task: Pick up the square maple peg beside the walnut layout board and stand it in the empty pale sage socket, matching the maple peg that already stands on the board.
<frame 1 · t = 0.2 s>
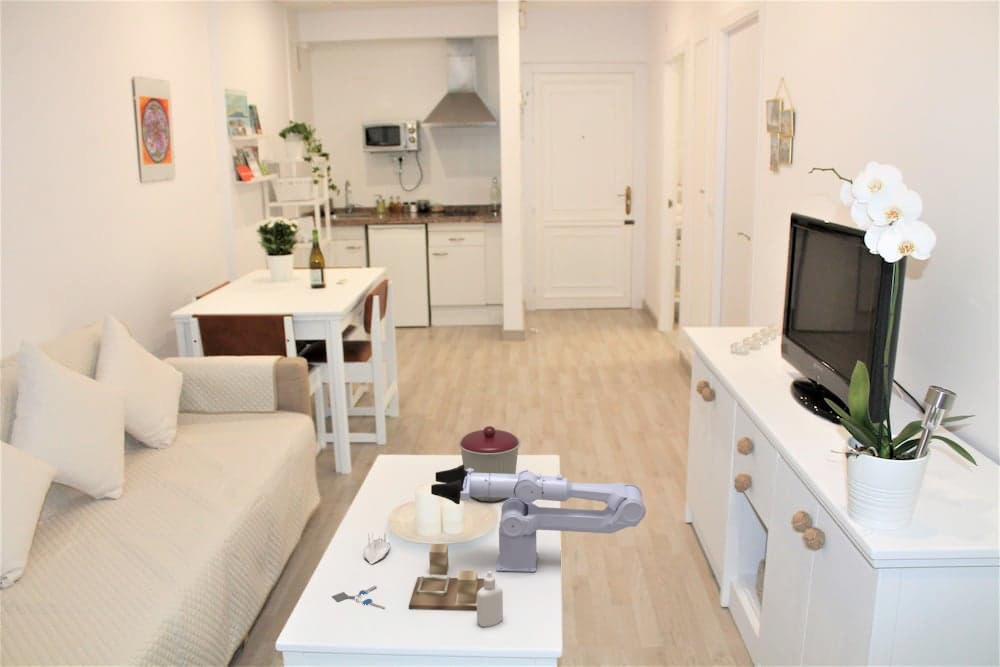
hand: (433, 483, 202), 21 cm above the table, tool horizontal, fingers open, 7 cm apart
layout board: (447, 595, 192), on the table
pincushion: (377, 554, 212), on the table
canister: (490, 495, 245), on the table
key chain: (363, 597, 193), on the table
eye dropper bottle: (490, 622, 182), on the table
maple peg: (439, 570, 203), on the table
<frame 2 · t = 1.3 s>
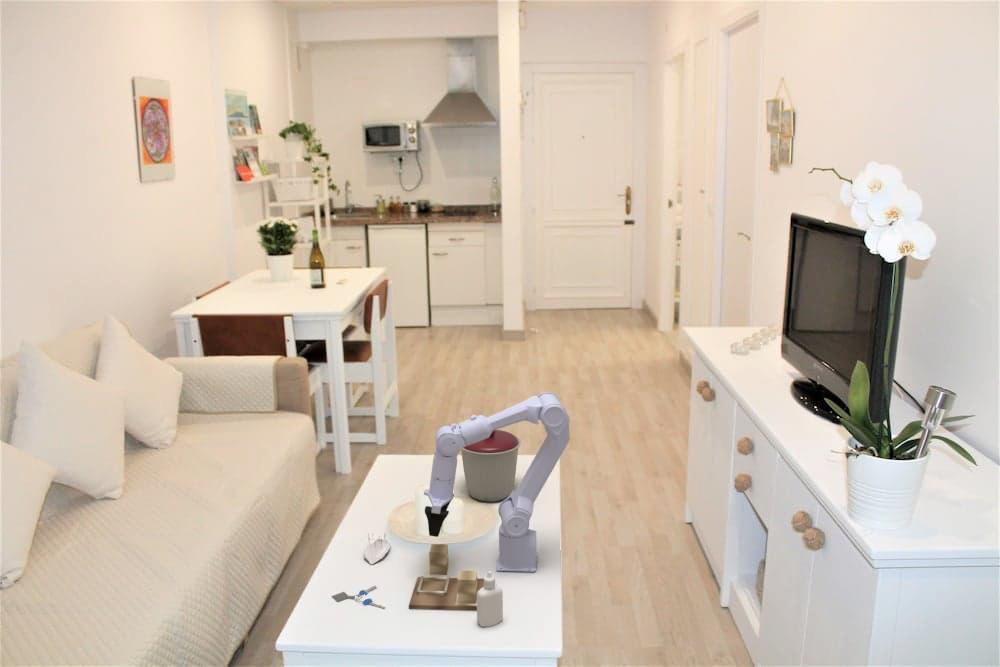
hand: (436, 528, 201), 11 cm above the table, tool pointing down, fingers open, 7 cm apart
nothing on the table moved.
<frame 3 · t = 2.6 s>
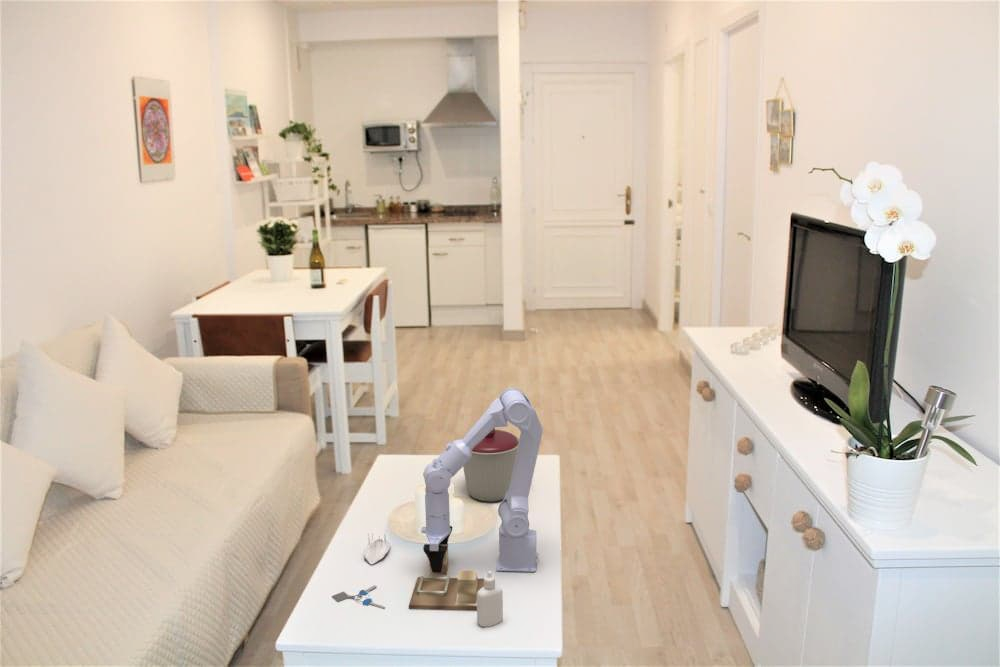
hand: (439, 563, 203), 2 cm above the table, tool pointing down, fingers open, 7 cm apart
nothing on the table moved.
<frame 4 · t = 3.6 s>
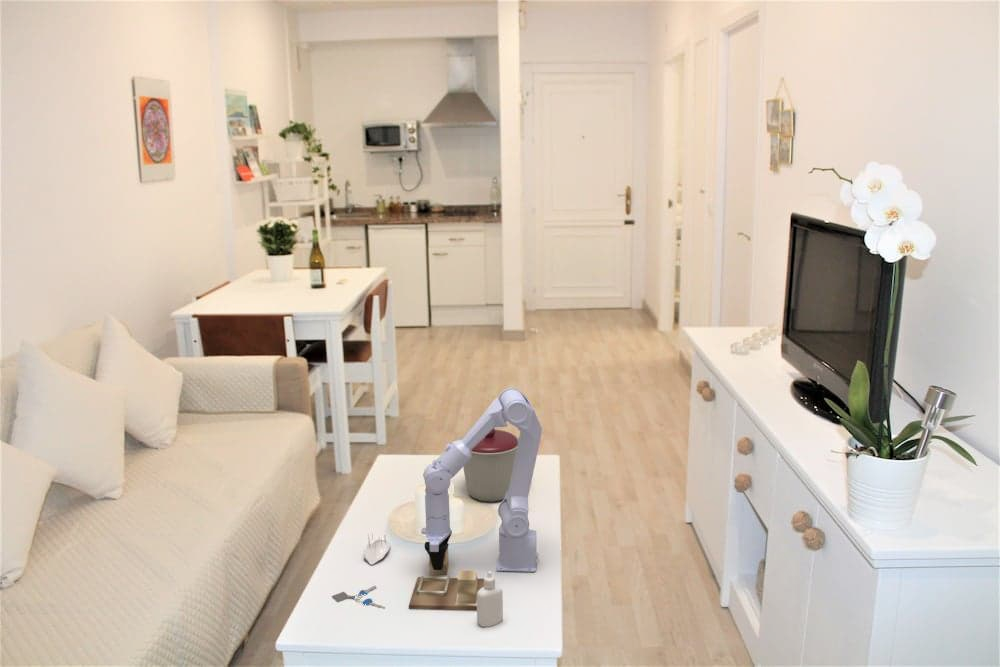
hand: (439, 564, 203), 2 cm above the table, tool pointing down, fingers closed on maple peg, 4 cm apart
maple peg: (439, 570, 203), on the table, touching gripper
everything else where it was.
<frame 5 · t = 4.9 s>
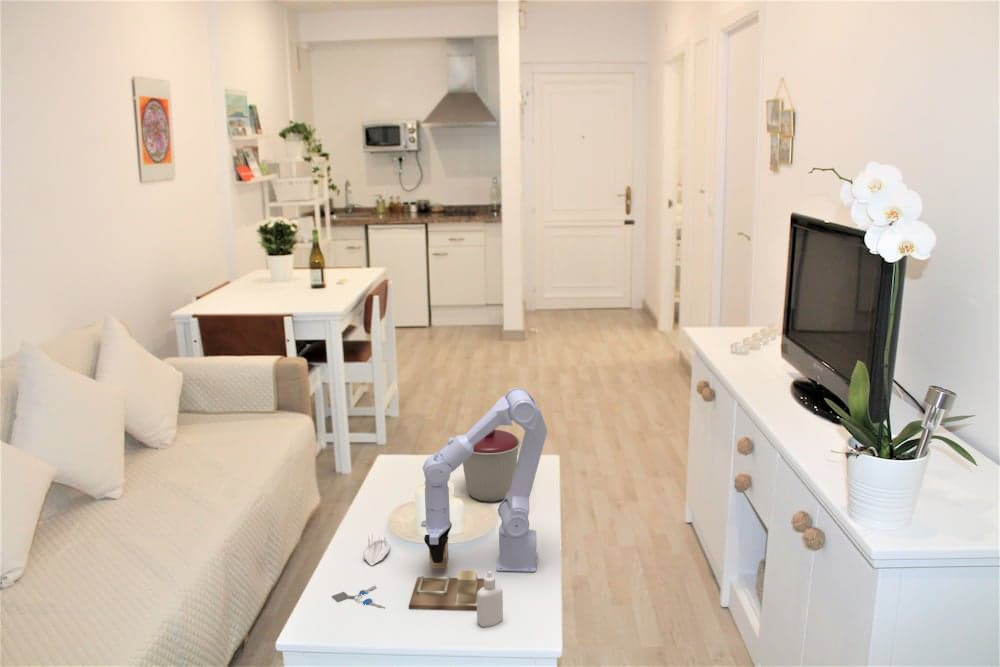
hand: (439, 557, 202), 3 cm above the table, tool pointing down, fingers closed on maple peg, 4 cm apart
maple peg: (439, 563, 203), point 2 cm above the table, touching gripper
everything else where it was.
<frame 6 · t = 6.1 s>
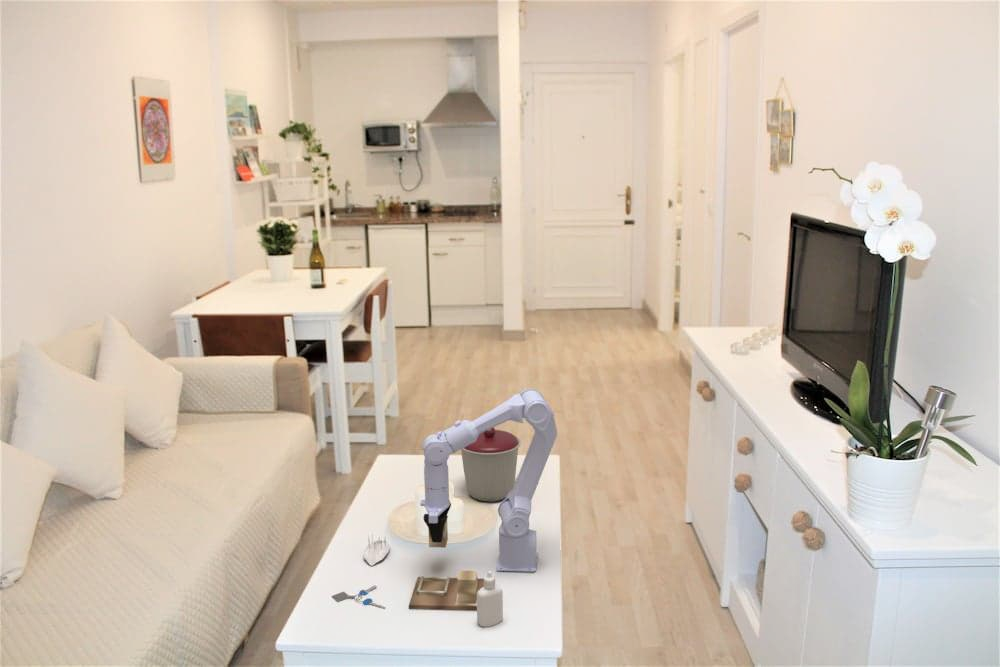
hand: (438, 537, 201), 9 cm above the table, tool pointing down, fingers closed on maple peg, 4 cm apart
maple peg: (438, 543, 201), point 7 cm above the table, touching gripper
everything else where it was.
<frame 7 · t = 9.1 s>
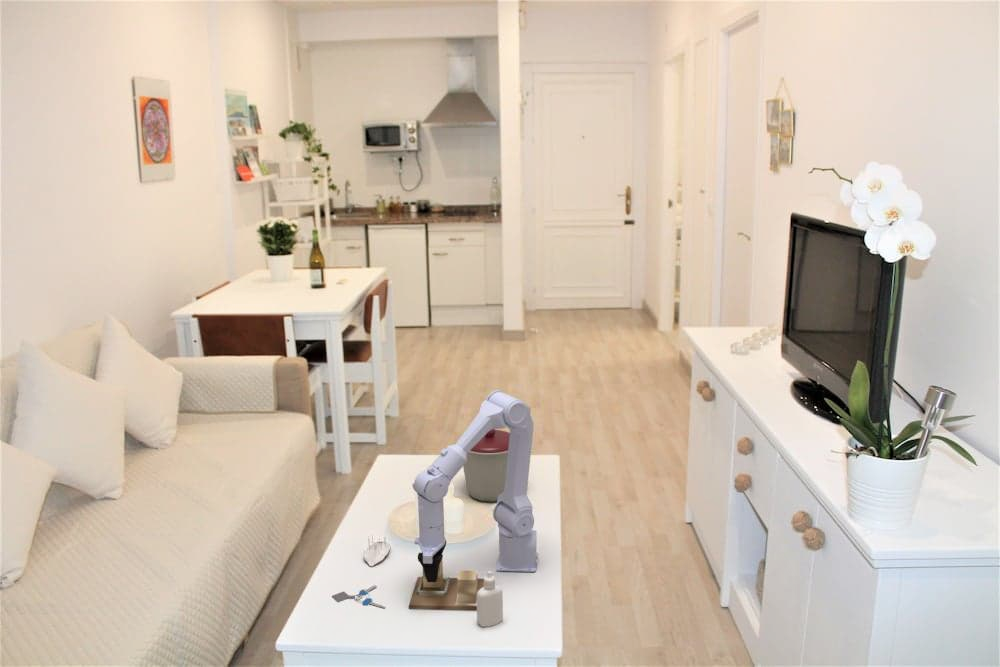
hand: (433, 576, 193), 4 cm above the table, tool pointing down, fingers closed on maple peg, 4 cm apart
maple peg: (433, 582, 193), point 2 cm above the table, touching gripper
when the fingers open (4 cm above the table, at t = 9.3 s): maple peg drops 1 cm, resting on layout board.
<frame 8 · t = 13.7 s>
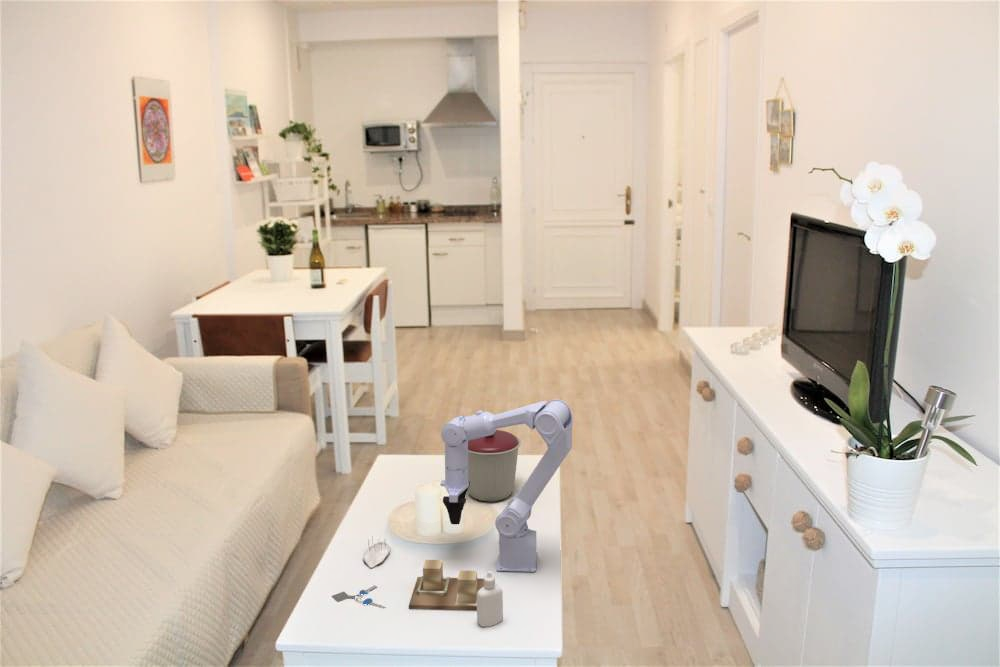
hand: (457, 516, 208), 10 cm above the table, tool pointing down, fingers open, 7 cm apart
maple peg: (433, 587, 194), point 1 cm above the table, touching layout board
at the end: maple peg 0.0 cm from the target spot on the layout board, point 1.0 cm above the layout board's base; maple peg tilted 0°; the gripper is holding nothing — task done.
